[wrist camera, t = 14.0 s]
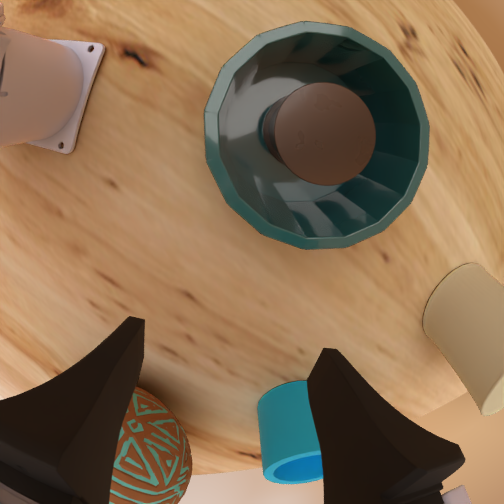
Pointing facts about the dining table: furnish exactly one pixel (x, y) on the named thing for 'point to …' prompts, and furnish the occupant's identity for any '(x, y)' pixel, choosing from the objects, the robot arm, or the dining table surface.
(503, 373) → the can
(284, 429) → the mug
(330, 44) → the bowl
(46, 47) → the robot arm
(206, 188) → the dining table surface
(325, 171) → the spool
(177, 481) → the decorative sphere
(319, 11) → the dining table surface
